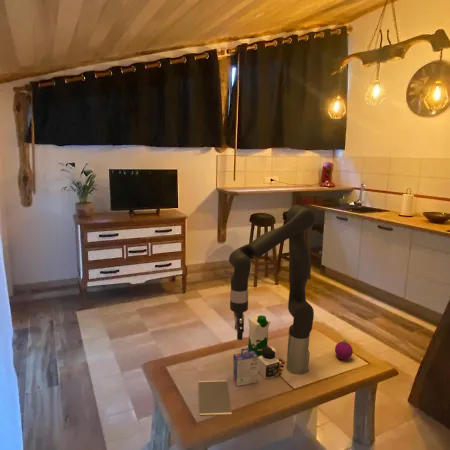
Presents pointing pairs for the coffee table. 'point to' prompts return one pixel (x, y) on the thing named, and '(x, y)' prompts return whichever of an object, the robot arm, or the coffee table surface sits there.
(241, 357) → the ink cartridge box
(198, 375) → the coffee table surface
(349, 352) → the christmas ornament
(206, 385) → the mat
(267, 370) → the medicine bottle
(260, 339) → the milk carton
